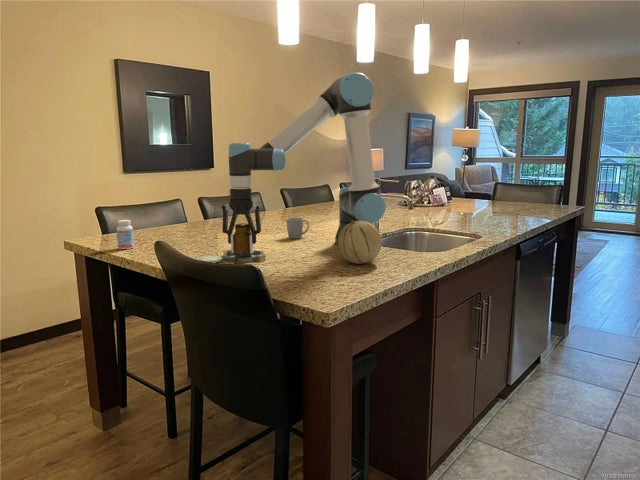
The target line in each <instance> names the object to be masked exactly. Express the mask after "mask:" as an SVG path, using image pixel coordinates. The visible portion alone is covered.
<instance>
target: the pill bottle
mask: <svg viewBox="0 0 640 480" xmlns="http://www.w3.org/2000/svg"><path fill="white" fill-rule="evenodd" d="M117 224H118V226H117V227H116V239H117V248H118V249H119V250H120V249H123V251H124V249H127V250H132V249H131V248H133V249H134V248H135V240H134V239H135V238H134V228H133V226H132V225H131V219H120V220H117Z"/></svg>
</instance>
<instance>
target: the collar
mask: <svg viewBox="0 0 640 480" xmlns="http://www.w3.org/2000/svg"><path fill="white" fill-rule="evenodd" d="M252 255H256V256H254V257H247V258H234V257H233V256H235V252H234V253H231V249H230V248H229V249H228V248H227V249H224V250H223V261H224V262H228V263H235V264H241V263H244V264H245V263H254V262H258V263H259V262H260V263H261V262H264V261H266V254H265V253H264V251H262V250H256V249H254V252H253V253H252Z"/></svg>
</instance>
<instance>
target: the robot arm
mask: <svg viewBox="0 0 640 480" xmlns="http://www.w3.org/2000/svg"><path fill="white" fill-rule="evenodd" d="M374 91H375V89H374V85H373V82H372V80H371V78H369V76H367V75H366V74H364V73H362V72H350V73H347V74H345V75H344V76H342V77H339V78H337V79H336V80H335V81H334V82H332V83H331V85H329V87H327V88H326V89H325V91H323V92H322V93H321V94H320V95H318V96H317V101H316V102H314V103H313V104H312V105H311V106H310V107H309V108H307V109H306V110H305V111H304V112H302V113H301V114H300V115H298V116H297V117H296V118H295V119H294V120H292V121H291V122H290V123H289V124H288V125H286V126H285V127H284V128H282V129H281V130H280V131H279V132H278V133H276V134H275V135H274V136H273V137H272V138H270V139H269V140H268V141H267V142H266V143H264V144H263V145H262V146H260V148H252V147H251V143H250V142H231V143H230V144H229V145H228V173H229V174H228V175H229V176H228V177H229V187H230V189H229V202H228V203H226V204H223V205H221V210H222V233H223V234H227V243H228V244H230V250H231V253H234V252H235V242H234V232H233V231H234V229H235V225H236V222H237V218H238V216H239V215H243V216H244V217H245V219H246V221H247V224H248V225H249V228H250V231H251V235H250V253H253V252H254V250H255V249H254V248H255V247H254V245H255V244H256V243H257V235H258V234H260V233H261V232H262V225H261V224H262V223H261V207H262V206H261V205H260V204H255V203H254V202H253V195H252V192H253V191H252V189H251V187H252V171H275V172H276V171H282V170H283V171H284V169H285V167H286V153H288V152H289V151H290V150H291V149H292V148H294V147H295V146H296V145H297V144H298V143H300V142H301V141H302V140H304V139H305V138H306V137H307V136H308V135H310V134H311V133H312V132H314V131H315V130H316V129H317V128H319V126H321V125H322V124H323V123H325V122H326V121H327V120H328V119H330V118H332V119H334V117H335V118H336V116H337V115H339V116H340V117H341V118H342V119H343V120H344V131H345V137H346V138H345V139H346V147H347V154H348V162H349V163H348V165H349V170H350V179H351V185H350V186H347V187H341V188H340V189H339V194H338V202H339V203H338V205H339V208H338V209H339V213H338V215H339V217H338V219H339V224H338V226H337V227H338V228H337V230H336V231H337V232H336V234H335V237H334V243H335V244H336V245H338V236H339V233H340V231H341V230H342V229H343V228H344V227H345V226H346V225H347V224H349V223H351V221H367V222H369V223H371V224H372V225H373V224H375V223H378V221H380V220H381V219H383V217H384V215H385V213H386V208H387V207H386V200H385V199H384V197H382V195H381V190H380V185H379V184H378V183H377V182H376V181H375V174H374V172H375V171H374V163H373V154H372V145H371V137H370V136H371V135H370V127H369V117H368V116H369V114H370V113H371V112H372V105H371V101H372V99H373V96H374V94H375V92H374ZM252 208H253V211H254V219H255V224H254V221H253V219H252V215H251V214H252V213H251V212H250V211H251V210H252ZM230 209H231V211H232V216H231V220H230V222H229V210H230ZM229 223H230V224H229ZM228 224H229V226H228ZM255 227H256V228H255Z"/></svg>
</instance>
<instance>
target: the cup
mask: <svg viewBox="0 0 640 480" xmlns="http://www.w3.org/2000/svg"><path fill="white" fill-rule="evenodd" d="M285 220H286V221H285V222H286V229H287V235H288V239H291V240H298V239H299V238H300V239H301V238H302V237H303V235H305V234H306V233H307V232H308V231H309V227H310V225H309V224H310V223H309V221H308V220H307V219H304V218H303V217H296V216H295V217H287V218H286V219H285ZM304 223H306V225H307V228H306V229H305V230H304V231H303V229H304ZM300 239H299V240H300Z"/></svg>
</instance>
